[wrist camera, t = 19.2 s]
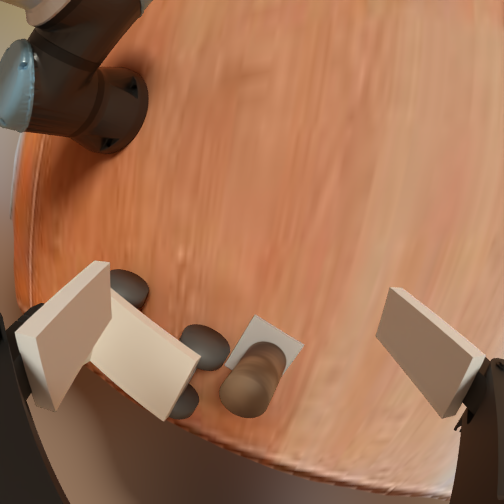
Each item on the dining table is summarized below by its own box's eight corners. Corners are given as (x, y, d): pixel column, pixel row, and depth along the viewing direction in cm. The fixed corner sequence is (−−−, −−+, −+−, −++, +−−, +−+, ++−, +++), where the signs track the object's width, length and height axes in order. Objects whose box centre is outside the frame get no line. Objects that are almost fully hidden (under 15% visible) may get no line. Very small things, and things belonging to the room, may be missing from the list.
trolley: (105, 330, 53) (21, 372, 34) (125, 265, 49) (24, 296, 30) (200, 403, 49) (133, 480, 30) (236, 344, 45) (163, 426, 26)
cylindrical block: (239, 364, 45) (212, 401, 36) (255, 334, 43) (229, 368, 34) (275, 383, 44) (255, 425, 34) (293, 354, 42) (276, 394, 33)
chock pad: (225, 364, 46) (224, 365, 46) (255, 314, 43) (254, 315, 43) (269, 392, 45) (268, 393, 44) (304, 344, 42) (303, 345, 42)
